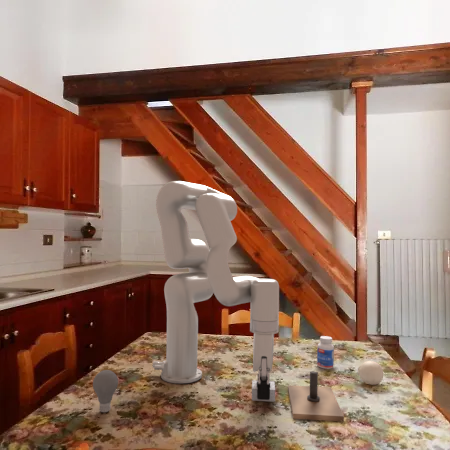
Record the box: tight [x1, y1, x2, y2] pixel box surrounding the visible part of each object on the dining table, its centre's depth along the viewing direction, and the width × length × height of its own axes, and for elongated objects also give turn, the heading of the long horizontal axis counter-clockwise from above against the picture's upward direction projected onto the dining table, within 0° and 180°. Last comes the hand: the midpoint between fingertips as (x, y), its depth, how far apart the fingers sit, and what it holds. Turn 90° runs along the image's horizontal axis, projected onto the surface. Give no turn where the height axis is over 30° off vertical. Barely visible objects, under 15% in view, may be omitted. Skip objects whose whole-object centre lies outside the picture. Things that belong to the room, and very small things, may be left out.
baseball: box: [357, 360, 384, 386], centre depth 121 cm, size 7×7×7 cm
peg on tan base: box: [287, 370, 345, 422], centre depth 106 cm, size 12×18×8 cm, turn 175°
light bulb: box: [92, 369, 119, 413], centre depth 99 cm, size 6×6×10 cm
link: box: [251, 379, 276, 402], centre depth 107 cm, size 6×6×3 cm
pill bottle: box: [316, 335, 335, 370], centre depth 136 cm, size 6×5×10 cm
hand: (263, 393), depth 107 cm, fingers closed on link, 6 cm apart
